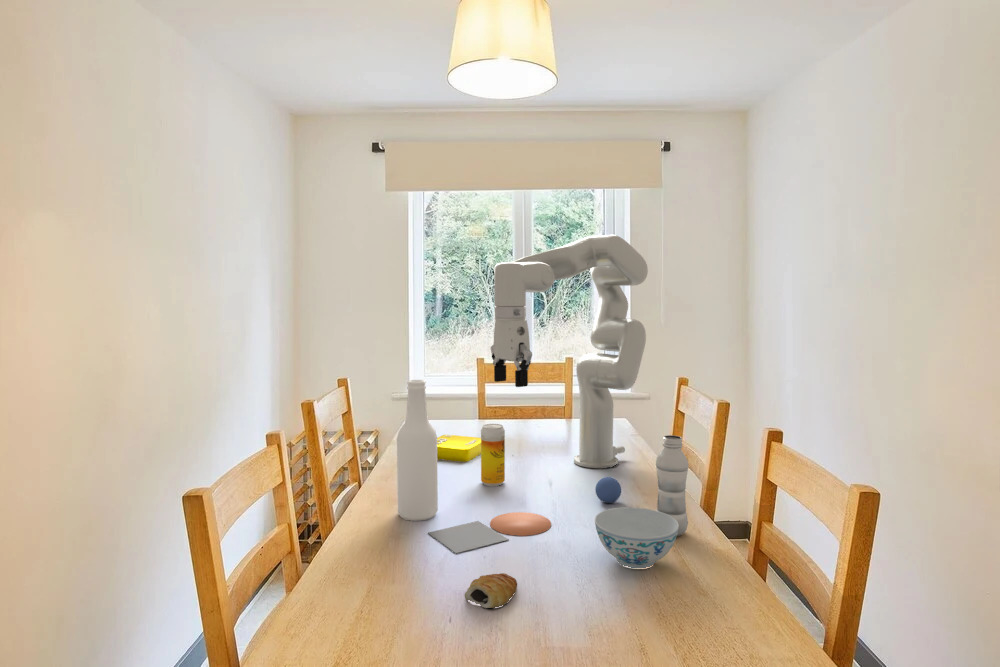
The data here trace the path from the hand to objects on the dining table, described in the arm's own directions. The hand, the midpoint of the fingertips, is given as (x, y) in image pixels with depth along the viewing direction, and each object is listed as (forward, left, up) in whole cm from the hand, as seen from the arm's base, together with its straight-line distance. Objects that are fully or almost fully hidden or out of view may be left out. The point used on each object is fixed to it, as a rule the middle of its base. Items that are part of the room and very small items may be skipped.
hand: (510, 383), depth 155 cm
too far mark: (+23, +19, -27) cm, 40 cm away
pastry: (+32, +43, -27) cm, 60 cm away
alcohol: (+26, +2, -27) cm, 38 cm away
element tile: (-6, -39, -28) cm, 48 cm away
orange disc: (+10, +19, -27) cm, 34 cm away
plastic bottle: (-13, +40, -27) cm, 50 cm away
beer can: (0, -8, -27) cm, 28 cm away
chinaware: (+3, +46, -27) cm, 54 cm away
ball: (-15, +19, -24) cm, 34 cm away
